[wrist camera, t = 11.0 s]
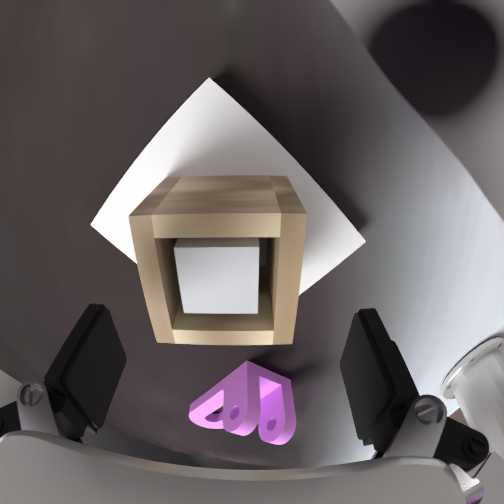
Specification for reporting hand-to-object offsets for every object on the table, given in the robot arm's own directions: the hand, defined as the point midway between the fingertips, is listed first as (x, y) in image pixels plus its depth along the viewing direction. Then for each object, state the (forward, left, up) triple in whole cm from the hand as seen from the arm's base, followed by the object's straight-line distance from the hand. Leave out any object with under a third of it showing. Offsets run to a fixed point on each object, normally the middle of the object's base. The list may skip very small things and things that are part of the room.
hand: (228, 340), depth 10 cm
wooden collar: (+1, 0, -9) cm, 9 cm away
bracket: (-14, +15, -11) cm, 23 cm away
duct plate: (+1, 0, -10) cm, 10 cm away
